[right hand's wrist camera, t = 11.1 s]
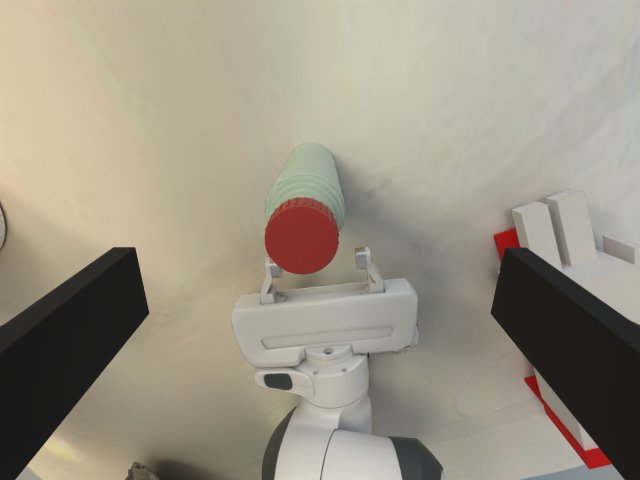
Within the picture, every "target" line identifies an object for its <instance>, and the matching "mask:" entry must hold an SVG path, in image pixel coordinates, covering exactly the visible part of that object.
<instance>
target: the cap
mask: <svg viewBox="0 0 640 480" xmlns="http://www.w3.org/2000/svg"><path fill="white" fill-rule="evenodd" d="M265 231H266V233H265V246H266V250H267V252H268V254H269V256H270V258H271V259H272V260H273V262H274V263H275V264H276V265H278V266H279V267H280V268H282V269H284V270H286V271H288V272H291V273H295V274H310V273H314V272H316V271H319V270H321V269H322V268H324V267H325V266H327V265H328V264H329V263H330V262H331V260H332V259H333V257H334V256H335V254H336V251H337V248H338V244H339V242H338V236H339V232H338V227H337V221H336V219H335V218H334V216H333V212H331V211H330V210H329V209H328V206H327V207H326V206H325V205H324V204H323V203H322V202H321V201H320V202H319V201H317V200H315V199H314V198H313V199H312V198H306V197H296V198H293V199H288V201H286V202H284V203H281V205H280V206H279V207H278V208H276V209H275V211H274V213H273V215H272V214H271V217H270V219H269V221H268V225H267V227H266V230H265Z"/></svg>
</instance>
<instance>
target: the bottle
mask: <svg viewBox="0 0 640 480" xmlns="http://www.w3.org/2000/svg"><path fill="white" fill-rule="evenodd" d="M296 197H306V198H312V199H313V198H314V199H315V200H317V201H319V202H320V201H321V202H322V203H323V204H324V205H325V206H326V207H327V206H328V209H329V210H330V211H331V212H333V216H334V218H335V219H336V221H337V227H338V232H340V230H341V228H342V226H343V223H344V220H345V204H344V200H343V195H342V191H341V187H340V183H339V178H338V174H337V170H336V166H335V162H334V158H333V156H332V154H331V153H330V152H329V150H328V149H327V148H325V147H324V146H322V145H320V144H317V143H304V144H301V145H299V146H298V147H296V148H295V149H294V150H293V151H292V152H291V154H290V156H289V158H288V159H287V161H286V163H285V165H284V167H283V169H282V171H281V172H280V174H279V176H278V178H277V180H276V182H275V184H274V186H273V187H272V189H271V191H270V193H269V195H268V197H267V200H266V205H265V217H266V221H267V224H268V221H269V219H270V217H271V214H272V215H273V213H274V211H275V209H276V208H278V207H279V206H280V205H281V203H284V202H286V201H288V199H293V198H296Z"/></svg>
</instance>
